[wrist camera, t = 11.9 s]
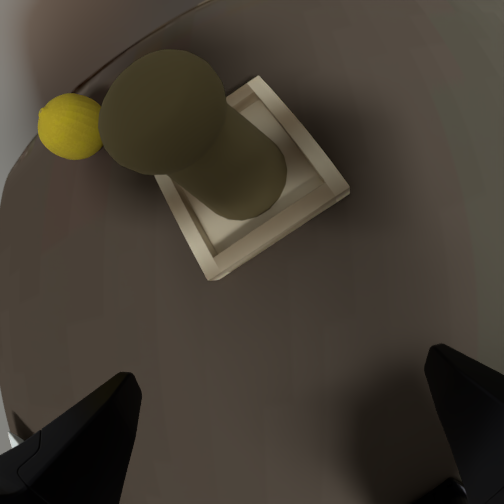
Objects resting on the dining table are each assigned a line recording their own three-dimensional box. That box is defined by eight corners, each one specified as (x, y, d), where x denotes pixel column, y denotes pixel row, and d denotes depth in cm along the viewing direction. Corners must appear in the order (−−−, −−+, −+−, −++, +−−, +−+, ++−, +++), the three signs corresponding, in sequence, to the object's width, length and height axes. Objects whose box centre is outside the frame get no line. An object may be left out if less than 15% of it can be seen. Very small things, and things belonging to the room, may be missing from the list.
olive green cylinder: (214, 128, 20) (113, 39, 9) (297, 140, 18) (236, 18, 8) (189, 209, 20) (58, 165, 10) (272, 231, 18) (172, 183, 8)
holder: (349, 193, 17) (350, 186, 16) (218, 279, 20) (208, 280, 18) (265, 87, 19) (258, 75, 18) (159, 166, 22) (146, 160, 20)
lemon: (130, 147, 23) (60, 113, 15) (88, 179, 24) (20, 158, 17) (122, 104, 24) (63, 67, 16) (83, 135, 25) (24, 109, 18)
